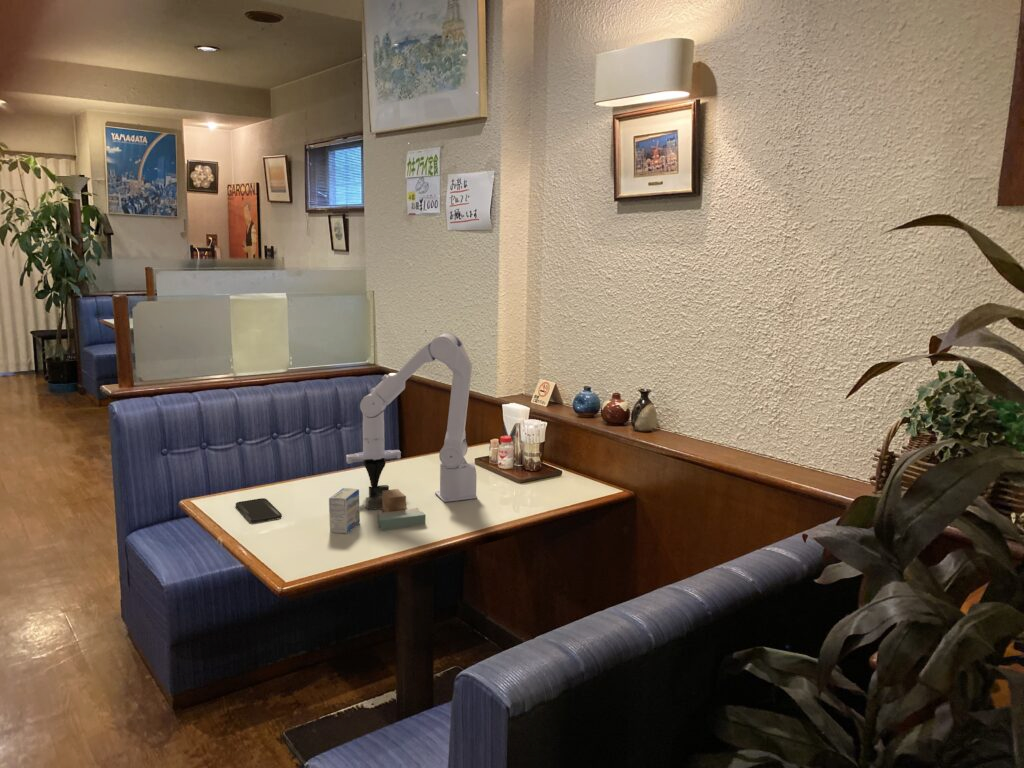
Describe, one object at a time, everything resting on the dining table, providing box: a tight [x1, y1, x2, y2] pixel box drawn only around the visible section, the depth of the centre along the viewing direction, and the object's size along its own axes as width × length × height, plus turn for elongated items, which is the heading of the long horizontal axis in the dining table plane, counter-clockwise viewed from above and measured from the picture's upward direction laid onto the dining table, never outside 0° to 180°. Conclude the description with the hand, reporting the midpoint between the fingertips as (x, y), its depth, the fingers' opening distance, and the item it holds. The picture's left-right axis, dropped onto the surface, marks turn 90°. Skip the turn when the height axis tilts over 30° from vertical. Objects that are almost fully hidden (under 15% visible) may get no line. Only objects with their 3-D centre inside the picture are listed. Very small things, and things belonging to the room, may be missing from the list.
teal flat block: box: [377, 507, 426, 531], centre depth 187 cm, size 11×5×2 cm, turn 115°
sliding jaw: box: [365, 484, 407, 511], centre depth 201 cm, size 10×9×3 cm
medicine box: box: [328, 487, 361, 534], centre depth 183 cm, size 8×4×9 cm, turn 168°
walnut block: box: [382, 488, 406, 513], centre depth 192 cm, size 4×6×6 cm, turn 25°
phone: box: [235, 497, 283, 524], centre depth 193 cm, size 8×1×15 cm
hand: (374, 485), depth 209 cm, fingers closed
